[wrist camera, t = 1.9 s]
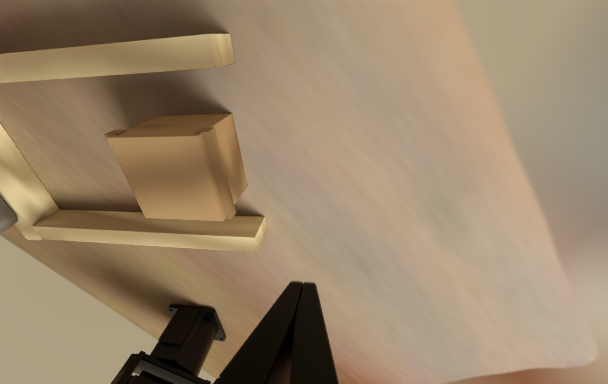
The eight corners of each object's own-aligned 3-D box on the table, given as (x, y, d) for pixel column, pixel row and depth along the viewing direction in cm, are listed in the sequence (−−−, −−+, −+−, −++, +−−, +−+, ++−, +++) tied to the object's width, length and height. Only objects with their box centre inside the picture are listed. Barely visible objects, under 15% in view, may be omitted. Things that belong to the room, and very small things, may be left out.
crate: (253, 185, 22) (229, 222, 17) (179, 184, 23) (140, 219, 19) (238, 111, 18) (204, 134, 14) (153, 114, 20) (99, 136, 15)
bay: (267, 230, 24) (241, 290, 18) (45, 220, 28) (-30, 266, 23) (229, 33, 16) (163, 34, 10) (-73, 62, 20) (-234, 73, 15)
